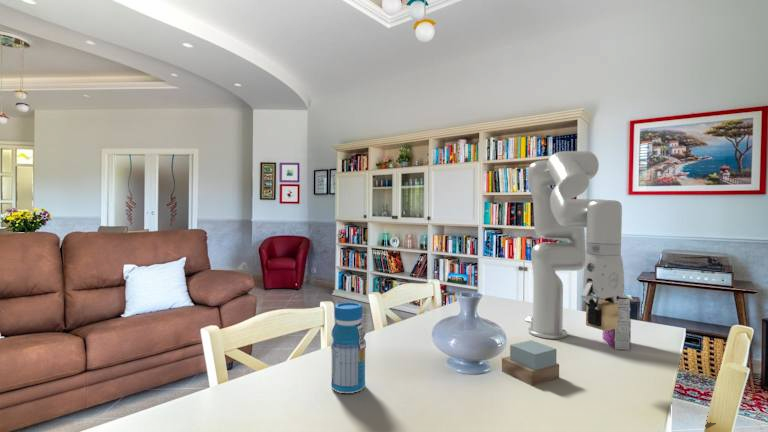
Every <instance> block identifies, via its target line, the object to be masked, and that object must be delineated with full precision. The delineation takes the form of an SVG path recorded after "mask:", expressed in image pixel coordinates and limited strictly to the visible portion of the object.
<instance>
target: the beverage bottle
mask: <svg viewBox="0 0 768 432" xmlns="http://www.w3.org/2000/svg"><path fill="white" fill-rule="evenodd" d="M363 310H364V309H363V305H362V304H361V303H358V302H352V301H351V302H350V301H349V302H339V303H337V304H335V306H334V320H335V321H336V322H335V324H334V325H333V327H332V329H331V337H332V340H331V342H330V349H331V351H330V352H331V388H332V390H333V391H334V390H335V391H338V392H341V393H354V392H357V393H359V392H358V391H360V390H361V391H363V390H364V389H365V386H366V347H367V342H366V339H365V336H366V330H365V326H364V325H363V323H362V322H361V321H362V319H363ZM363 388H364V389H363ZM362 389H363V390H362ZM335 391H334V392H335ZM361 391H360V392H361ZM341 393H340V394H341ZM354 394H355V393H354Z"/></svg>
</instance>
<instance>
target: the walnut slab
mask: <svg viewBox="0 0 768 432" xmlns="http://www.w3.org/2000/svg"><path fill="white" fill-rule="evenodd" d="M501 372H502V373H504V374H506V375H508V376H510V377H512V378H514V379H515V380H516V379H517V380H518V381H521V382H522V383H524V384H527V385H529V386H530V387H534V386H537V385H540V384H544V383H547V382H550V381H553V380H557V379H560V364H559V363H557V362H556V365H553V366H549V367H546V368H542V369H539V370H532V369H530V368H528V367H525V366H523V365H521V364H518V363H516V362H514V361H511V360H510V355H509V356H506V357H501Z"/></svg>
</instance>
